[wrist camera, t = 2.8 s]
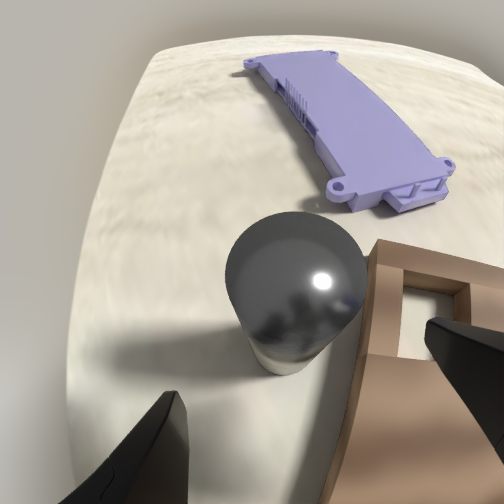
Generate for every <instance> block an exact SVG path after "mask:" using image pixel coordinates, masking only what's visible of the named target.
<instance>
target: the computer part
mask: <svg viewBox="0 0 504 504" xmlns="http://www.w3.org/2000/svg"><path fill="white" fill-rule="evenodd" d="M336 60H338V53H337V52H335V51H322V50H317V51H302V52H291V53H281V54H273V55H265V56H258V57H255V58H252V59H246V60H244V61H243V62H244V68H245V69H256V70H257V71H258V72H259V74H260V75H261V76H262V77H263V79H264V80H265V81H266V82H267V84H268V85H269V86H270V88H271V89H272V90H273V92H274V93H278V92H279V94H280V95H281V96H282V98H283V99H284V100H285V103H286V105H288V107H289V108H290V110H291V111H292V112H293V114H294V115H295V117H296V118H297V119H298V121H299V122H300V123H301V125H302V127H304V129H305V131H307V132H308V133H309V135H310V136H311V138H312V139H313V140H314V142H315V146H314V150H315V151H316V153H317V154H318V156H319V158H320V159H321V161H322V162H323V164H324V165H325V167H326V169H327V170H328V172H329V174H330V175H331V177H332V178H333V179H331V180H329V181H328V183H327V188H326V197H327V198H328V199H329V200H330V201H331V202H334V203H342V202H347V204H348V206H349V207H350V209H351V211H352V213H355V212H358V211H362V210H366V209H369V208H373V207H377V206H378V204H379V202H380V201H382V200H386V201H387V202H388V203H389V204H390V205H391V206H392V207H393V208H394V209H395V210H396V211H397V212H398V213H399V212H403V211H406V210H410V209H413V208H416V207H420V206H423V205H427V204H430V203H433V202H437V201H440V200H444V199H445V197H446V195H447V194H448V192H449V191H448V188H447V186H446V183H445V182H446V180H447V177H449V176H451V175H452V173H453V172H454V170H455V168H456V166H455V164H454V162H453V161H452V160H451V159H449V158H447V157H440V158H435V157H434V155H433V154H432V153H431V152H430V151H429V149H428V148H427V147H426V146H425V145H424V144H423V142H422V141H421V140H420V139H419V138H418V137H417V136H416V134H415V133H414V132H413V131H412V130H411V129H410V128H409V127H408V126H407V125H406V124H405V123H404V122H403V121H402V119H401V118H400V117H399V116H398V115H397V114H396V113H395V112H394V111H393V110H392V109H391V108H390V107H389V106H388V105H387V104H385V103H384V102H383V101H382V100H381V99H380V98H379V97H378V96H377V95H376V94H375V93H374V92H373V91H372V90H370V89H369V88H368V87H367V86H366V85H365V84H364V83H363V82H361V81H360V80H359V79H358V78H357V77H356V76H354V75H353V74H352V73H351V72H350V71H348V70H347V69H346V68H345V67H343V66H342V65H341V64H340V63H338V62H337V61H336ZM336 190H338V191H336Z"/></svg>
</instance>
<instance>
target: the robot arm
mask: <svg viewBox="0 0 504 504" xmlns="http://www.w3.org/2000/svg"><path fill="white" fill-rule="evenodd" d="M424 340H425V344H426V346H427V348H428V349H429V351H430V353H431V354H432V356H433V358H434V359H435V361H436V363H437V364H438V366H439V368H440V369H441V371H442V373H443V374H444V376H445V377H446V378H447V380H448V381H449V383H450V384H451V385H452V387H453V388H454V389H455V391H456V392H457V394H458V395H459V397H460V398H461V399H462V401H463V402H464V404H465V405H466V407H467V408H468V409H469V411H470V412H471V414H472V415H473V417H474V418H475V420H476V421H477V423H478V424H479V426H480V427H481V429H482V431H483V432H484V434H485V435H486V437H487V438H488V440H489V442H490V443H491V445H492V446H493V448H495V449H494V450H495V452H496V453H497V455H498V457H499V458H500V460H501V462H502V463H503V465H504V332H500V331H496V330H491V329H487V328H482V327H478V326H473V325H469V324H465V323H460V322H456V321H452V320H448V319H443V318H439V317H434V318H432V319H430V320H428V321H427V323H426V329H425V337H424ZM188 472H189V438H188V425H187V411H186V407H185V405H184V403H183V401H182V399H181V397H180V395H179V393H178V392H177V391H175V390H172V391H166V392H164V393H163V394H162V395H161V396H160V397H159V399H158V400H157V401H156V402H155V403H154V405H153V406H152V407H151V408H150V409H149V410H148V412H147V413H146V414H145V415H144V416H143V417H142V419H141V420H140V421H139V422H138V423H137V424H136V426H135V427H134V428H133V429H132V430H131V431H130V433H129V434H128V435H127V436H126V437H125V438H124V439H123V441H122V442H121V443H120V444H119V445H118V446H117V447H116V449H115V450H114V451H113V452H112V453H111V454H110V455H109V457H108V458H107V459H106V460H105V461H104V462H103V463H102V464H101V465H100V466H99V468H98V469H97V470H96V471H95V472H94V473H93V474H92V475H91V476H90V477H89V478H88V479H86V480H85V481H84V482H83V483H82V484H81V485H80V486H79V487H78V488H76V489H75V490H74V491H73V492H72V493H71V494H69V495H68V496H67V497H66V498H65V499H64V500H62V501H61V502H60V503H58V504H188Z"/></svg>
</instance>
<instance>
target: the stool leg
mask: <svg viewBox="0 0 504 504" xmlns="http://www.w3.org/2000/svg"><path fill="white" fill-rule="evenodd" d="M225 283H226V288H227V293H228V296H229V298H230V301H231V303H232V306H233V308H234V310H235V312H236V314H237V317H238V319H239V321H240V323H241V325H242V328H243V330H244V332H245V334H246V336H247V338H248V341H249V343H250V345H251V347H252V349H253V351H254V353H255V355H256V358H257V360H258V361H259V363H260V364H261V365H262V366H263V367H264V368H265V369H266V370H268V371H269V372H271V373H274V374H277V375H290V374H294V373H297V372H299V371H300V370H302V369H303V368H304V367H305V366H307V365H308V364H309V363H310V362H311V361H312V360H313V359H314V358H315V357H316V356H317V355H318V354H319V353H320V352H321V351H322V350H323V349H324V348H325V347H326V346H327V345H328V344H329V343H330V342H331V341H332V340H333V339H334V338H335V337H336V336H337V335H338V334H339V333H340V332H341V331H342V330H343V329H344V328H345V326H346V325H347V324H348V323H349V322H350V321H351V320H352V319H353V318H354V317H355V315H356V314H357V312H358V311H359V309H360V307H361V305H362V303H363V301H364V298H365V295H366V290H367V284H368V274H367V266H366V263H365V259H364V256H363V254H362V251H361V250H360V248H359V246H358V244H357V243H356V242H355V240H354V239H353V238H352V236H351V235H350V234H349V233H348V232H347V231H346V230H344V229H343V228H342V227H341V226H339V225H338V224H336V223H335V222H333V221H331V220H329V219H327V218H325V217H322V216H319V215H316V214H312V213H307V212H283V213H278V214H274V215H271V216H268V217H266V218H263V219H261V220H259V221H258V222H256V223H254V224H253V225H251V226H250V227H249V228H248V229H246V230H245V231H244V232H243V233H242V234H241V235H240V237H239V238H238V239H237V241H236V242H235V244H234V245H233V247H232V249H231V251H230V253H229V256H228V259H227V263H226V270H225Z"/></svg>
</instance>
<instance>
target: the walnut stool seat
mask: <svg viewBox="0 0 504 504" xmlns="http://www.w3.org/2000/svg"><path fill="white" fill-rule="evenodd" d="M367 274H368V284H367V290H366V295H365V303H364V311H363V319H362V326H361V333H360V340H359V346H358V352H357V358H356V364H355V369H354V375H353V380H352V385H351V390H350V394H349V399H348V403H347V408H346V412H345V416H344V420H343V424H342V428H341V432H340V436H339V439H338V443H337V447H336V450H335V453H334V457H333V460H332V463H331V467H330V470H329V473H328V476H327V479H326V482H325V485H324V488H323V491H322V494H321V496H320V499H319V502H318V504H504V465H503V463H502V462H501V460H500V458H499V457H498V455H497V453H496V452H495V450H494V449H495V448H493V446H492V445H491V443H490V442H489V440H488V438H487V437H486V435H485V434H484V432H483V431H482V429H481V427H480V426H479V424H478V423H477V421H476V420H475V418H474V417H473V415H472V414H471V412H470V411H469V409H468V408H467V407H466V405H465V404H464V402H463V401H462V399H461V398H460V397H459V395H458V394H457V392H456V391H455V389H454V388H453V387H452V385H451V384H450V383H449V381H448V380H447V378H446V377H445V376H444V374H443V373H442V371H441V369H440V368H439V366H438V364H437V363H436V361H426V360H416V359H407V358H399V357H397V354H398V345H399V336H400V326H401V313H402V297H403V286H407V287H413V288H418V289H423V290H428V291H434V292H439V293H444V294H450V295H454V321H456V322H460V323H465V324H469V325H473V326H478V327H482V328H487V329H491V330H496V331H500V332H504V269H503V268H499V267H495V266H492V265H488V264H484V263H480V262H476V261H472V260H468V259H464V258H460V257H456V256H452V255H448V254H444V253H440V252H436V251H431V250H427V249H423V248H418V247H414V246H409V245H405V244H401V243H396V242H391V241H387V240H382V239H378V240H377V242H376V243H375V245H374V247H373V249H372V251H371V252H370V254H369V259H368V272H367Z"/></svg>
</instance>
